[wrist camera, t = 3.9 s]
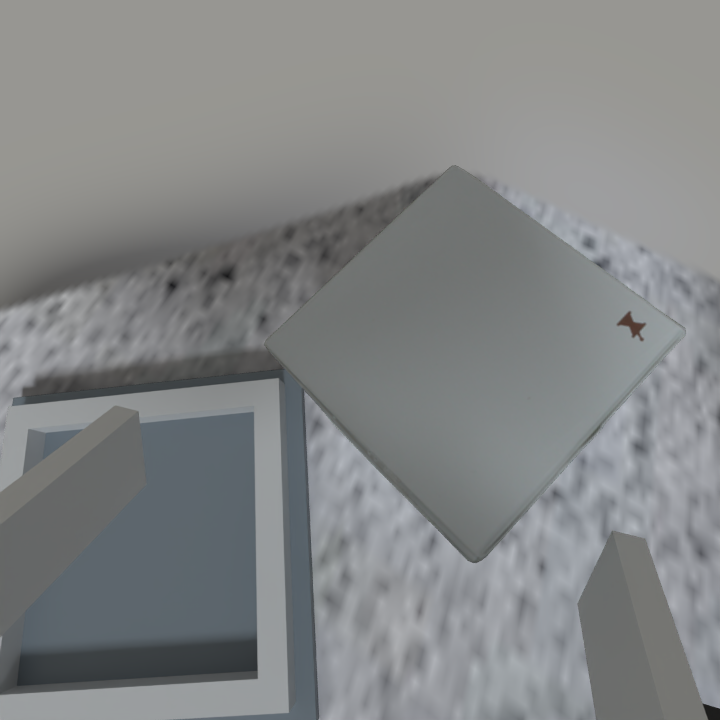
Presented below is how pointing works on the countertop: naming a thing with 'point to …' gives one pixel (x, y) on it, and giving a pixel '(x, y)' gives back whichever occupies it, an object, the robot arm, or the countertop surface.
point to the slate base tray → (176, 563)
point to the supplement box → (471, 356)
